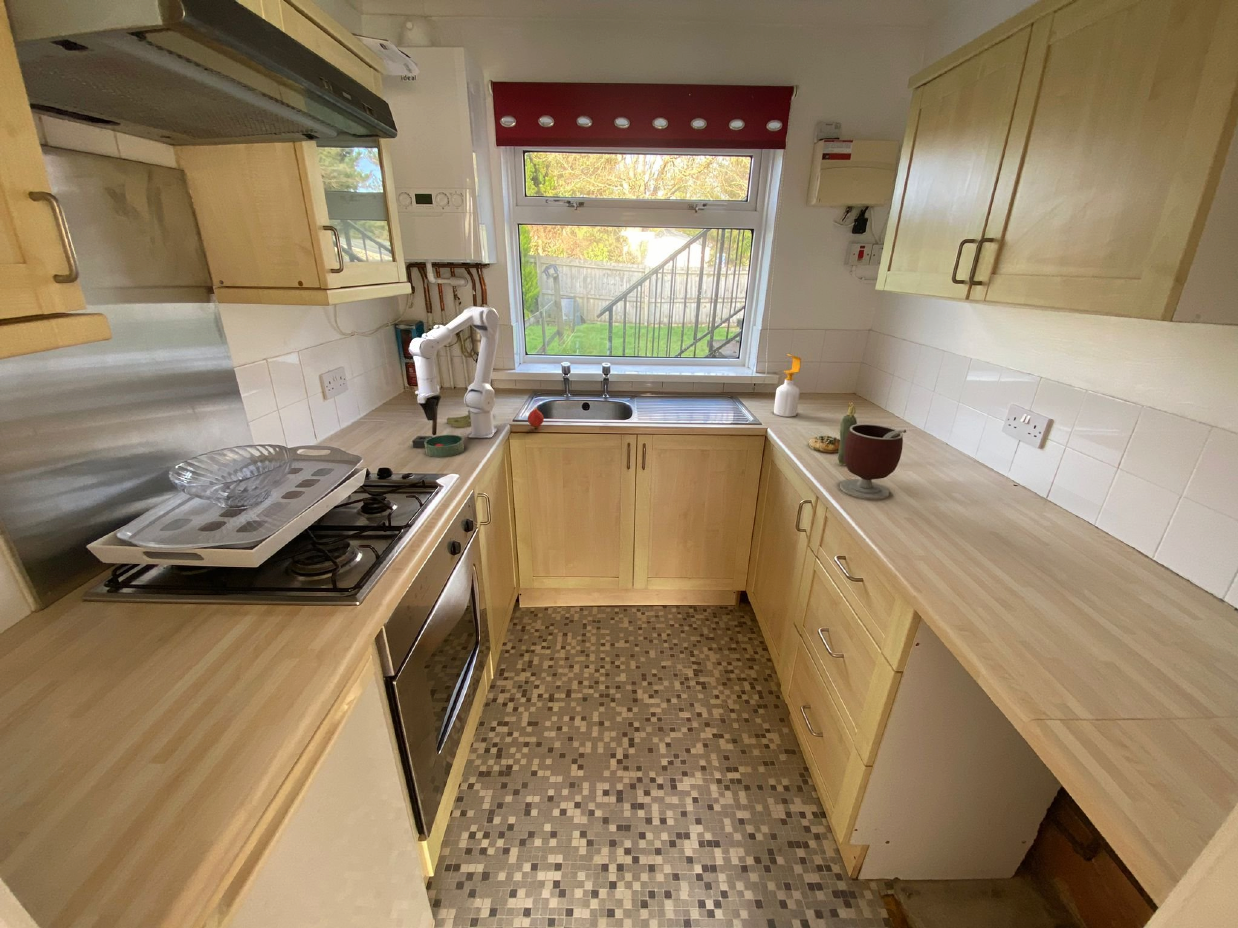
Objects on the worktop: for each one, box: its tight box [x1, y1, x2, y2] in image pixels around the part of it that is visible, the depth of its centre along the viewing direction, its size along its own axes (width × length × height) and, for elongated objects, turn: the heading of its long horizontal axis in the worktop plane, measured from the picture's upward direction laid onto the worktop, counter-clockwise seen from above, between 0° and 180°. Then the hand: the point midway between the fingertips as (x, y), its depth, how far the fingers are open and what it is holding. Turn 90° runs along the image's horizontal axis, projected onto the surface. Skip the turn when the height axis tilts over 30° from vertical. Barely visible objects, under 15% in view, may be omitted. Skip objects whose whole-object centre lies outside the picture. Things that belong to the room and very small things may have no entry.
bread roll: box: [808, 435, 840, 454], centre depth 172 cm, size 11×11×5 cm
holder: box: [411, 435, 433, 449], centre depth 171 cm, size 5×5×2 cm
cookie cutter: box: [446, 409, 471, 428], centre depth 198 cm, size 18×12×2 cm, turn 155°
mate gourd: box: [839, 423, 907, 501], centre depth 136 cm, size 16×14×20 cm
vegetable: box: [837, 401, 858, 466], centre depth 154 cm, size 4×4×20 cm
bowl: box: [424, 434, 465, 458], centre depth 166 cm, size 12×12×4 cm
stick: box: [431, 406, 439, 436], centre depth 164 cm, size 1×1×10 cm
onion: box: [527, 407, 545, 429], centre depth 188 cm, size 6×6×8 cm
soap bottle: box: [773, 353, 802, 418], centre depth 207 cm, size 9×9×25 cm
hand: (432, 419), depth 164 cm, fingers closed on stick, 1 cm apart
